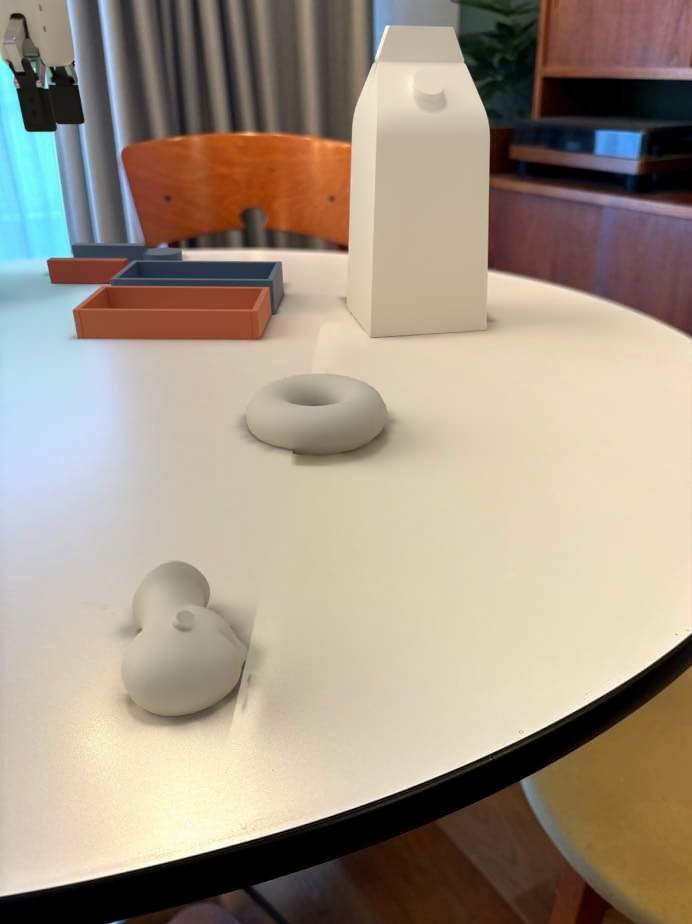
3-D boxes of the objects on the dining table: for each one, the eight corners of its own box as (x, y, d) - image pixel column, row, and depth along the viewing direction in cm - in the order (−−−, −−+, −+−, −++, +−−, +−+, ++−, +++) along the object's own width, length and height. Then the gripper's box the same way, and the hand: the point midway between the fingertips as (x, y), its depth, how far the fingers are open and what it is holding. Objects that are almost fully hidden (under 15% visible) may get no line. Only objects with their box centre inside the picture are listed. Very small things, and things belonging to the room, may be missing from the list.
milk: (451, 301, 93) (463, 29, 80) (486, 330, 83) (506, 26, 70) (346, 307, 90) (340, 26, 77) (370, 337, 80) (367, 22, 67)
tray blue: (115, 313, 87) (109, 279, 85) (137, 291, 95) (133, 260, 93) (274, 314, 87) (272, 280, 85) (283, 292, 95) (281, 261, 93)
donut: (277, 405, 65) (224, 454, 56) (275, 362, 63) (219, 406, 55) (401, 418, 63) (364, 471, 54) (402, 374, 61) (364, 421, 53)
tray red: (79, 347, 76) (72, 309, 75) (107, 320, 84) (101, 285, 83) (260, 348, 77) (257, 311, 75) (271, 321, 85) (269, 286, 83)
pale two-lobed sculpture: (237, 750, 34) (108, 737, 32) (234, 632, 41) (126, 616, 39) (262, 669, 32) (126, 651, 30) (254, 559, 39) (142, 540, 37)
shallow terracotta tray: (46, 286, 96) (41, 263, 95) (59, 276, 100) (55, 254, 99) (162, 287, 97) (159, 264, 95) (171, 277, 101) (168, 255, 99)
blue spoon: (71, 269, 104) (67, 247, 103) (82, 261, 108) (79, 240, 107) (179, 270, 104) (176, 248, 103) (186, 261, 109) (184, 241, 107)
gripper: (13, -55, 90) (48, 121, 99) (-58, -74, 75) (-9, 135, 84) (83, -55, 90) (112, 121, 99) (26, -74, 75) (66, 134, 84)
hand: (56, 127), depth 91 cm, fingers open, 9 cm apart
